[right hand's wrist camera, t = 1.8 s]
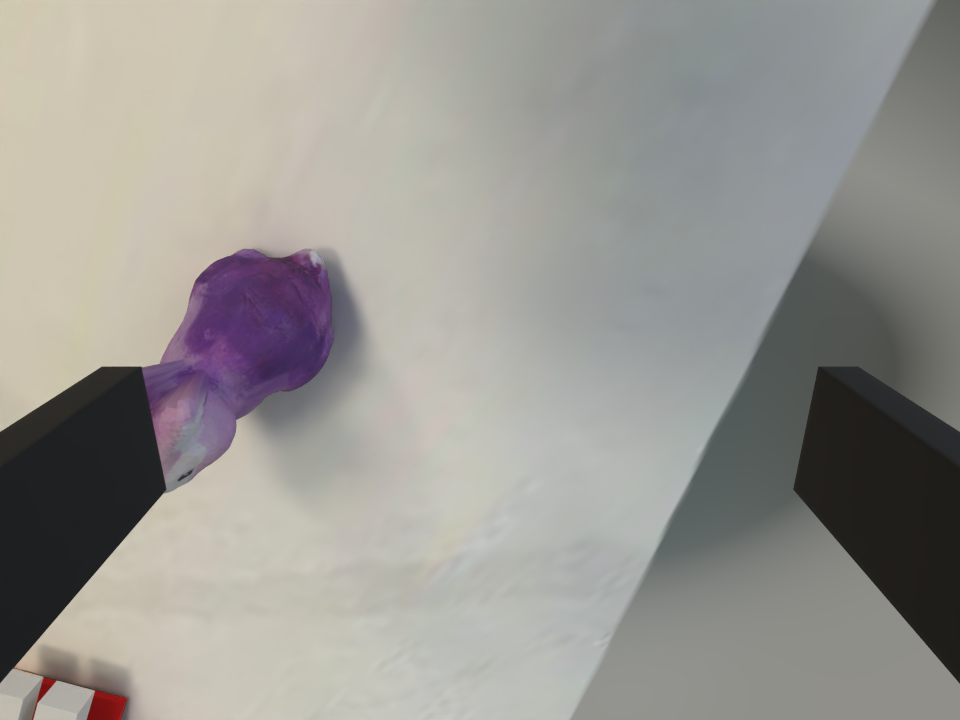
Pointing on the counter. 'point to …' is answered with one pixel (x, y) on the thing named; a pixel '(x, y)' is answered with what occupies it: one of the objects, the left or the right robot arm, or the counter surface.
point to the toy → (54, 700)
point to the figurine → (236, 353)
